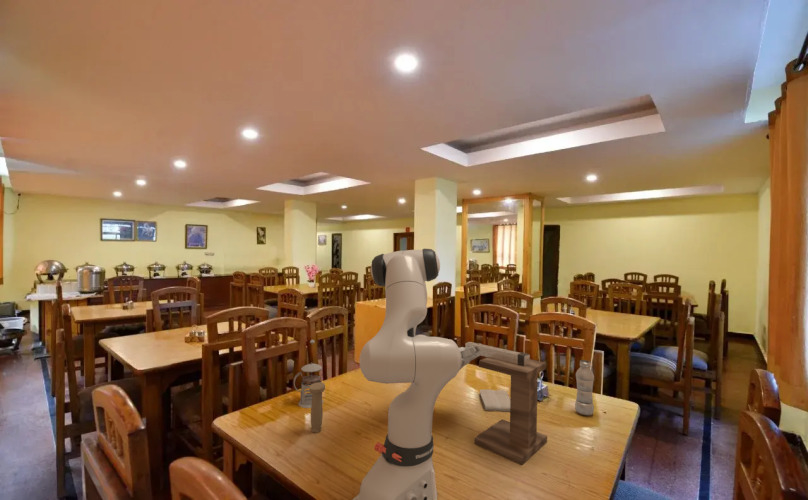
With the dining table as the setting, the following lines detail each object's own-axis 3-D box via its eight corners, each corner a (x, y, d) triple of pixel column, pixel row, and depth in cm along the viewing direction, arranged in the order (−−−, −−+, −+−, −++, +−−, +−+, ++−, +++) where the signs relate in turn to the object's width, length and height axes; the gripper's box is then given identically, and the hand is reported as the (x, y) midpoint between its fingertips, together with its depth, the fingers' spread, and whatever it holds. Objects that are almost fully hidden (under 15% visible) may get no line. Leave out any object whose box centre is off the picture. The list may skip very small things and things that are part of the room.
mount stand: (522, 465, 102) (523, 374, 103) (474, 443, 113) (475, 361, 114) (547, 441, 115) (548, 361, 116) (501, 424, 126) (503, 351, 127)
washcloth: (505, 395, 154) (505, 388, 154) (516, 414, 136) (516, 405, 136) (477, 394, 155) (477, 387, 155) (484, 412, 137) (484, 404, 137)
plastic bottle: (574, 415, 135) (575, 362, 135) (575, 408, 141) (576, 358, 141) (593, 419, 132) (594, 365, 132) (593, 412, 138) (594, 360, 138)
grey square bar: (525, 366, 110) (525, 356, 110) (465, 351, 125) (465, 342, 125) (529, 364, 112) (529, 354, 112) (470, 350, 127) (470, 341, 127)
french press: (325, 406, 139) (326, 341, 139) (294, 410, 135) (295, 344, 135) (321, 396, 148) (322, 336, 148) (292, 400, 144) (293, 338, 144)
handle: (306, 435, 117) (307, 389, 117) (312, 425, 123) (313, 382, 123) (320, 436, 116) (321, 389, 116) (326, 426, 123) (327, 382, 123)
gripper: (429, 357, 125) (458, 344, 117) (462, 347, 140) (490, 334, 131) (436, 375, 123) (466, 363, 114) (469, 363, 137) (497, 351, 129)
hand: (479, 348), depth 123 cm, fingers open, 3 cm apart
